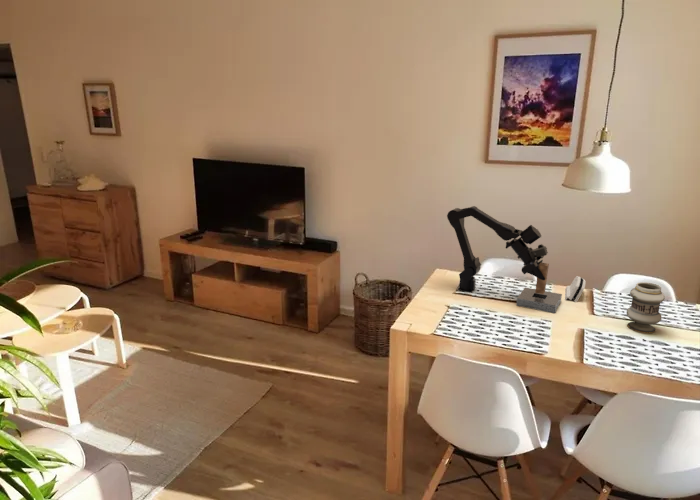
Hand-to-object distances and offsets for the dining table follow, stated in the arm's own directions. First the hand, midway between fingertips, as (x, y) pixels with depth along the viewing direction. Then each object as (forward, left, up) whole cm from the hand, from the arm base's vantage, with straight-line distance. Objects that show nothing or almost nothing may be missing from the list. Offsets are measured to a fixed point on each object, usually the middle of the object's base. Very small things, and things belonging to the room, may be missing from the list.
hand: (545, 278), depth 221 cm
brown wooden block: (-1, 0, -7) cm, 7 cm away
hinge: (+11, +19, -12) cm, 25 cm away
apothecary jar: (+39, -5, -12) cm, 41 cm away
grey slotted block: (-1, 0, -12) cm, 12 cm away
